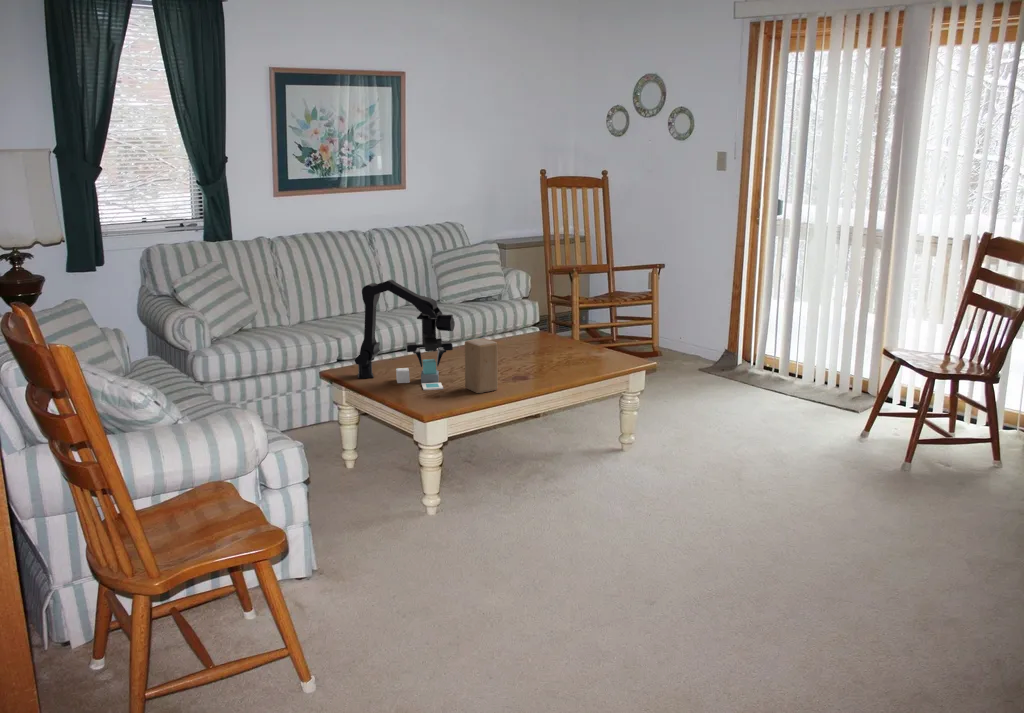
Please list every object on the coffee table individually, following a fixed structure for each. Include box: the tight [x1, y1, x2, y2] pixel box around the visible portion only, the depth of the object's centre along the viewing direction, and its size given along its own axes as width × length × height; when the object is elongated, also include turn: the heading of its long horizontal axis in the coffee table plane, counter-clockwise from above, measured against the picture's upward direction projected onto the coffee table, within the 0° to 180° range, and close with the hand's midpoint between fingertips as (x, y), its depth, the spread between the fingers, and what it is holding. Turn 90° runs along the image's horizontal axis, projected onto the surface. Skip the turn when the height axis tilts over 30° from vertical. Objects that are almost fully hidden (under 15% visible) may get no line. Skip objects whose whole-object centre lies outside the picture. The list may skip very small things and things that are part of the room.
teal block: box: [422, 358, 437, 374], centre depth 373 cm, size 5×5×5 cm
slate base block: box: [420, 369, 440, 385], centre depth 374 cm, size 7×7×4 cm
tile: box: [421, 382, 444, 391], centre depth 366 cm, size 8×8×1 cm
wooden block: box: [464, 337, 499, 394], centre depth 360 cm, size 10×10×20 cm
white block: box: [395, 367, 411, 384], centre depth 373 cm, size 5×5×5 cm
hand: (429, 366), depth 373 cm, fingers open, 6 cm apart
